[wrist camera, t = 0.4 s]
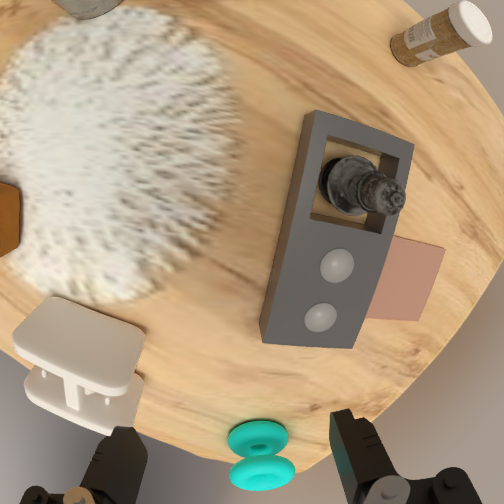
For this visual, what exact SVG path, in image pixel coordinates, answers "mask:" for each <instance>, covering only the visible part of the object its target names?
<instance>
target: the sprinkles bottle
mask: <svg viewBox="0 0 504 504" xmlns="http://www.w3.org/2000/svg"><path fill="white" fill-rule="evenodd" d="M491 41H492V31H491V28H490V25H489V23H488V21H487V19H486V17H485V16H484V15H483V13H482V12H481V11H480V10H479V9H478V8H477V7H476V6H475V5H474V4H472V3H470V2H469V1H465V0H462V1H459V2H457V3H455V4H452V5H451V6H450V7H449V8H448V9H446V10H444V11H442V12H440V13H438V14H436V15H433V16H431V17H429V18H427V19H425V20H423V21H421V22H419V23H417V24H416V25H414V26H412V27H410V28H409V29H407V30H406V31H404V32H403V33H401V34H398V35H395V36H394V37H393V38H392V40H391V49H392V52H393V54H394V55H395V57H396V58H397V60H398V61H400V62H401V63H402V64H404V65H406V66H409V67H414V66H417V65H418V64H420V63H422V62H425V61H429V60H432V59H435V58H438V57H440V56H444V55H447V54H450V53H453V52H455V51H457V50H460V49H464V48H467V47H471V46H473V47H479V46H483V45H487V44H489V43H490V42H491Z"/></svg>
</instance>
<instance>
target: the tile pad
mask: <svg viewBox="0 0 504 504" xmlns="http://www.w3.org/2000/svg"><path fill="white" fill-rule="evenodd" d="M445 250H446V249H444V248H441V247H437V246H433V245H430V244H426V243H422V242H418V241H414V240H409V239H405V238H401V237H397V236H393V238H392V241H391V245H390V248H389V251H388V254H387V257H386V261H385V264H384V267H383V270H382V273H381V276H380V279H379V281H378V284H377V287H376V290H375V293H374V295H373V298H372V301H371V303H370V306H369V309H368V311H367V314H366V316H365V318H373V319H388V320H406V321H419V318H420V316H421V314H422V311H423V309H424V307H425V304H426V302H427V300H428V297H429V295H430V292H431V290H432V287H433V284H434V282H435V279H436V276H437V274H438V271H439V268H440V265H441V262H442V259H443V256H444V253H445Z"/></svg>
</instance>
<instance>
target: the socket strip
mask: <svg viewBox="0 0 504 504" xmlns="http://www.w3.org/2000/svg"><path fill="white" fill-rule="evenodd" d="M326 140H329V141H333V142H336V143H340V144H343V145H346V146H350V147H353V148H356V149H359V150H362V151H366V152H369V153H372V154H375V155H378V156H380V157H381V159H380V164H379V169H378V171H379V172H381V173H383V174H384V175H385V176H386V177H388V178H392V179H395V180H397V181H398V182H400V183H401V184H402V186H403V187H404V190H405V188H406V184H407V179H408V175H409V170H410V165H411V160H412V155H413V150H414V144H412V143H410V142H408V141H405V140H403V139H400V138H398V137H395V136H393V135H390V134H388V133H385V132H383V131H380V130H377V129H375V128H372V127H369V126H366V125H363V124H361V123H358V122H355V121H352V120H349V119H346V118H342V117H339V116H336V115H333V114H329V113H326V112H323V111H319V110H314V111H312V112H310V113H308V114H306V115H305V117H304V122H303V127H302V132H301V137H300V142H299V147H298V152H297V156H296V161H295V166H294V171H293V176H292V180H291V185H290V190H289V194H288V199H287V204H286V208H285V213H284V217H283V222H282V226H281V231H280V235H279V240H278V244H277V249H276V253H275V258H274V262H273V266H272V271H271V275H270V279H269V283H268V288H267V292H266V296H265V300H264V305H263V309H262V313H261V317H260V321H259V326H260V332H261V337H262V343H267V344H278V345H291V346H305V347H322V348H346V349H352V348H353V345H354V343H355V341H356V338H357V336H358V334H359V331H360V329H361V326H362V324H363V321H364V319H365V316H366V314H367V311H368V309H369V306H370V303H371V301H372V298H373V295H374V293H375V290H376V287H377V284H378V281H379V279H380V276H381V273H382V270H383V267H384V264H385V261H386V257H387V254H388V251H389V248H390V245H391V241H392V238H393V234H394V231H395V227H396V224H397V220H398V216H399V213H400V212H398V213H397V214H395V215H384V214H382V213H379V212H375V213H370V212H368V215H367V219H366V223H365V225H364V224H360V223H355V222H351V221H346V220H342V219H337V218H333V217H328V216H323V215H318V214H313V213H311V210H312V205H313V201H314V196H315V192H316V188H317V183H318V179H319V174H320V169H321V165H322V160H323V155H324V150H325V145H326Z"/></svg>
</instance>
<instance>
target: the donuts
mask: <svg viewBox="0 0 504 504" xmlns="http://www.w3.org/2000/svg"><path fill="white" fill-rule="evenodd" d="M287 442H288V433H287V431H286V430H285V429H284V428H283V427H282V426H281V425H279V424H277V423H274V422H270V421H252V422H248V423H244V424H242V425H240V426H238V427H236V428H235V429H234V430H233V431H232V432H231V433H230V435H229V437H228V445H229V447H230V449H231V450H232V451H233V452H234V453H235V454H237V455H239V456H241V457H244V458H245V459H242V460H240V461H239V462H237V463H236V464H234V465H233V467H232V468H231V469H230V472H229V478H230V480H231V482H232V483H233V484H234V485H235V486H237V487H239V488H242V489H246V490H252V491H263V490H270V489H274V488H278V487H280V486H283V485H285V484H287V483H288V482H289V481H290V480H291V479H292V478H293V476H294V475H295V467H294V465H293V463H292V462H291V461H289V460H288V459H286V458H284V457H281V456H277V455H275V454H277V453H279V452H280V451H281V450H282V449H284V447H285V446H286V444H287Z"/></svg>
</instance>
